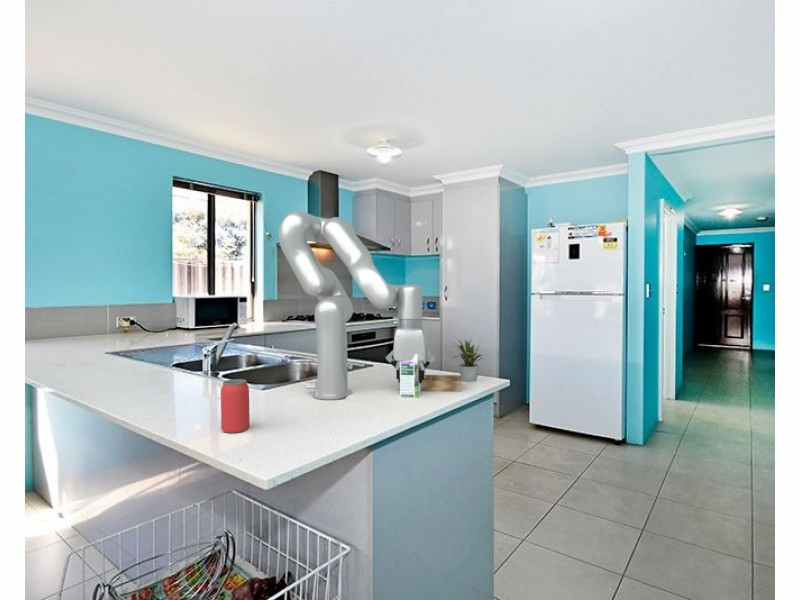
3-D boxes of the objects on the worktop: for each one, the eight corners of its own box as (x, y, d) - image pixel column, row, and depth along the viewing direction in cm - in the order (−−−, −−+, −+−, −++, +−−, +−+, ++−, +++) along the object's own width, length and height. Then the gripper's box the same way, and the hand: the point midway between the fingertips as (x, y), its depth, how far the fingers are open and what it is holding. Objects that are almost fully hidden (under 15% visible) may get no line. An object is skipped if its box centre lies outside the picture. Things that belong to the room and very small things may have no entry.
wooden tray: (398, 392, 154) (398, 380, 154) (403, 385, 164) (403, 374, 164) (460, 394, 151) (460, 381, 151) (460, 387, 162) (460, 375, 162)
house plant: (437, 380, 172) (437, 336, 171) (466, 376, 180) (466, 333, 179) (463, 388, 160) (463, 340, 159) (493, 383, 168) (493, 337, 167)
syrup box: (399, 399, 145) (399, 352, 145) (403, 395, 151) (403, 349, 150) (417, 400, 144) (417, 353, 143) (421, 395, 150) (420, 350, 149)
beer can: (225, 426, 119) (224, 378, 119) (252, 425, 120) (251, 378, 119) (217, 434, 112) (216, 384, 112) (246, 433, 113) (245, 383, 113)
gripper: (380, 325, 144) (381, 384, 145) (437, 325, 142) (437, 385, 142) (384, 323, 151) (385, 379, 152) (438, 323, 149) (438, 380, 150)
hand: (410, 381), depth 147 cm, fingers closed on syrup box, 5 cm apart
